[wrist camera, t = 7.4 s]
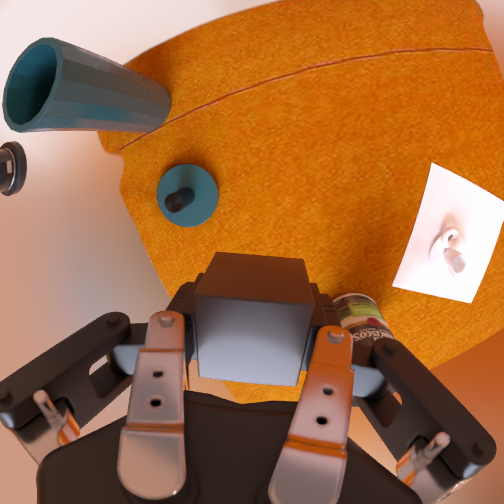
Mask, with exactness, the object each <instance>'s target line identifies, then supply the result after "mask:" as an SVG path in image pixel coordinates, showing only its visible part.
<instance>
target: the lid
mask: <svg viewBox="0 0 504 504" xmlns="http://www.w3.org/2000/svg"><path fill="white" fill-rule="evenodd" d="M218 196H219V195H218V188H217V185H216V182H215V180H214V179H213V177H212V176H211V175H210V173H209V172H207V171H206V170H205V169H203V168H202V167H200V166H197V165H193V164H182V165H178V166H175V167H173V168H171V169H170V170H169V171H167V172H166V173H165V174H164V176H163V177H162V179H161V180H160V183H159V185H158V189H157V200H158V205H159V207H160V209H161V211H162V213H163V214H164V216H165V217H166V218H167V219H168V220H169V221H171V222H172V223H174V224H176V225H179V226H183V227H194V226H198V225H200V224H202V223H204V222H205V221H207V220H208V219H209V218H210V217H211V216H212V214H213V213H214V211H215V209H216V207H217V204H218Z"/></svg>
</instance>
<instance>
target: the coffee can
mask: <svg viewBox="0 0 504 504" xmlns="http://www.w3.org/2000/svg"><path fill="white" fill-rule="evenodd" d="M333 302H334V305H335V307H336V310H337V313H338V316H339V319H340V322H341V325H342V328H345V329H346V330H348V331H349V332H350V333H351V334H352V336H353V341H355V342H357V343H360V344H364V345H369V346H373V343H374V341H375V340H376V339H378V338H382V337H388V338H393V339H395V338H394V337H393V335H392V333H391V331H390V329H389V327H388V325H387V323H386V322H385V320H384V318H383V316H382V314H381V312H380V311H379V309H378V306H377V304H376V302H375V301H374V300H373V299H372V298H371V297H369V296H367V295H365V294H361V293H348V294H344V295H341V296H339V297H337V298H335V299H334V300H333ZM389 391H390V392H391V393H392V394H393V393H394V392H395V391H396V390H395V389H394V388H393V387H392V386H390V388H389ZM352 407H359V406H358V404H357V403H356V402H355V400H354V398H353V396H352Z"/></svg>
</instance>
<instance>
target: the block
mask: <svg viewBox="0 0 504 504" xmlns="http://www.w3.org/2000/svg"><path fill="white" fill-rule="evenodd" d="M314 307H315V303H314V299H313V295H312V291H311V287H310V282H309V278H308V274H307V270H306V266H305V262H304V260H303V259H296V258H284V257H272V256H261V255H249V254H237V253H226V252H216V253H215V255H214V257H213V259H212V261H211V263H210V265H209V266H208V268H207V270H206V272H205V274H204V276H203V278H202V279H201V281H200V283H199V285H198V287H197V289H196V291H195V293H194V312H195V332H196V348H197V362H198V374H199V377H205V378H210V379H218V380H225V381H234V382H243V383H253V384H265V385H280V386H296V385H297V383H298V379H299V375H300V371H301V367H302V363H303V358H304V354H305V350H306V345H307V341H308V336H309V332H310V327H311V322H312V317H313V312H314Z"/></svg>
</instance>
